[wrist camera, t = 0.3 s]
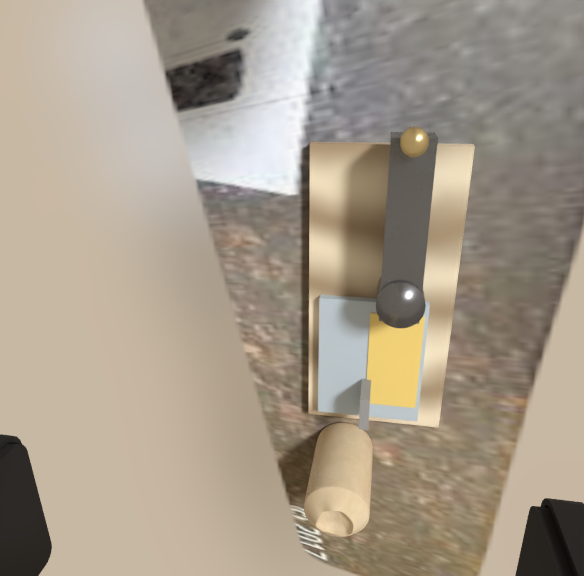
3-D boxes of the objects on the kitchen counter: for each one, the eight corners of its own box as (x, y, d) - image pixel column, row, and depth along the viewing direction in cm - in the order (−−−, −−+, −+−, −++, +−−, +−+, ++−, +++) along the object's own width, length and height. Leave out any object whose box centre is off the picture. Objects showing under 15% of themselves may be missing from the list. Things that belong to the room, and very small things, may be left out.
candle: (317, 463, 52) (302, 546, 43) (316, 419, 50) (299, 496, 41) (372, 468, 51) (368, 554, 42) (373, 423, 49) (369, 504, 40)
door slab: (320, 294, 43) (314, 315, 40) (429, 301, 42) (432, 323, 38) (319, 406, 48) (313, 433, 44) (416, 416, 46) (418, 445, 43)
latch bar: (420, 310, 41) (423, 333, 37) (375, 307, 42) (374, 329, 38) (439, 122, 35) (445, 128, 32) (387, 122, 36) (386, 127, 32)
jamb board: (311, 141, 40) (309, 143, 39) (472, 144, 37) (474, 145, 37) (310, 407, 49) (308, 413, 48) (437, 420, 47) (438, 427, 46)
